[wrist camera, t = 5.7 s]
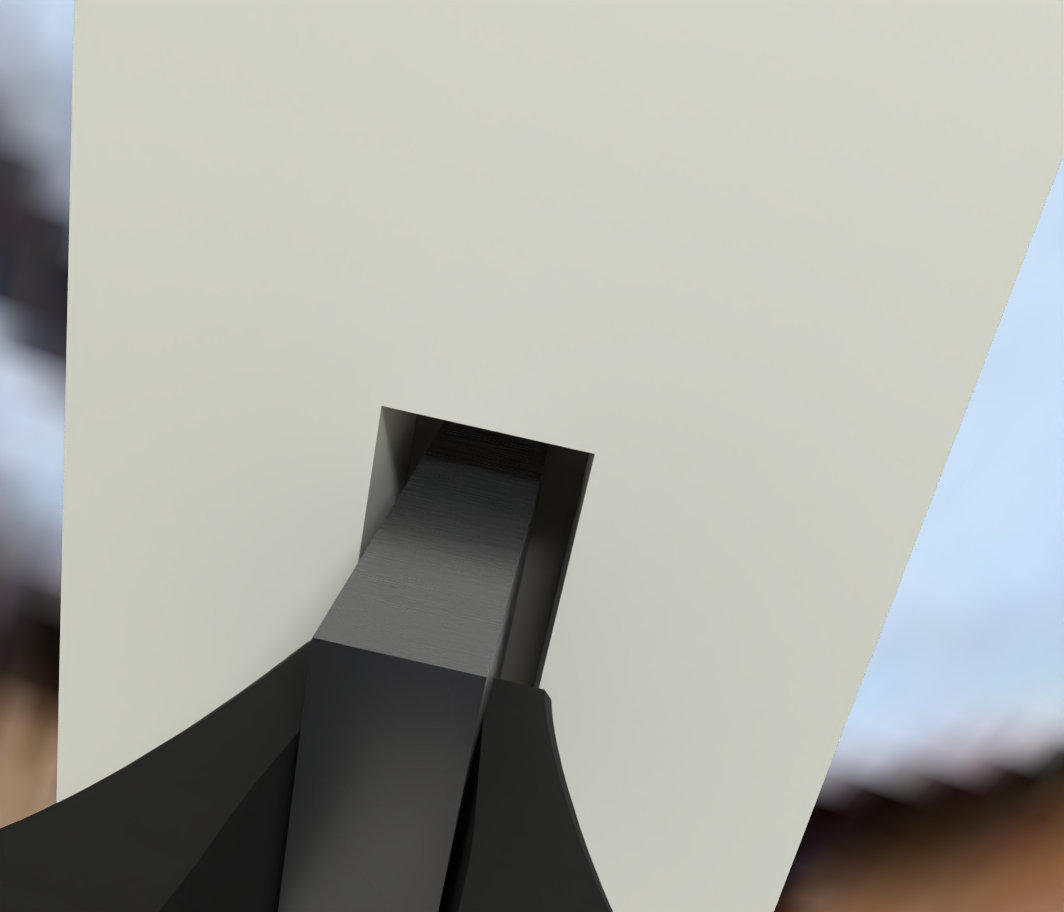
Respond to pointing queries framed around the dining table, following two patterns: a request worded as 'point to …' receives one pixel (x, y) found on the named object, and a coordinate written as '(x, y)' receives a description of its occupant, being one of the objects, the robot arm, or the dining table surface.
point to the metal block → (409, 680)
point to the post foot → (541, 359)
